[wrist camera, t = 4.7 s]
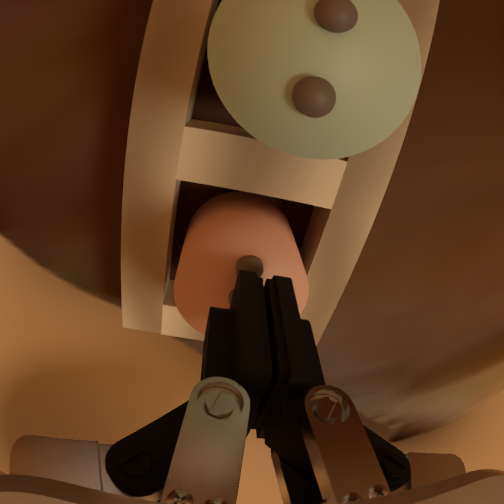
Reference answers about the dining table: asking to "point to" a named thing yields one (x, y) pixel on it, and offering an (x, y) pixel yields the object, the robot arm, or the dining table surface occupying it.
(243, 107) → the button two
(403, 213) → the dining table surface
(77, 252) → the dining table surface
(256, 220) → the button three
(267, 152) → the wooden panel frame
